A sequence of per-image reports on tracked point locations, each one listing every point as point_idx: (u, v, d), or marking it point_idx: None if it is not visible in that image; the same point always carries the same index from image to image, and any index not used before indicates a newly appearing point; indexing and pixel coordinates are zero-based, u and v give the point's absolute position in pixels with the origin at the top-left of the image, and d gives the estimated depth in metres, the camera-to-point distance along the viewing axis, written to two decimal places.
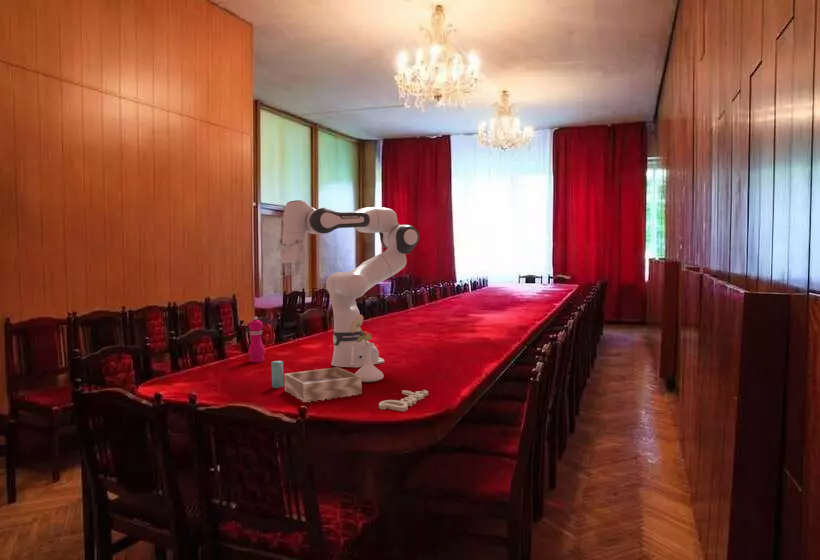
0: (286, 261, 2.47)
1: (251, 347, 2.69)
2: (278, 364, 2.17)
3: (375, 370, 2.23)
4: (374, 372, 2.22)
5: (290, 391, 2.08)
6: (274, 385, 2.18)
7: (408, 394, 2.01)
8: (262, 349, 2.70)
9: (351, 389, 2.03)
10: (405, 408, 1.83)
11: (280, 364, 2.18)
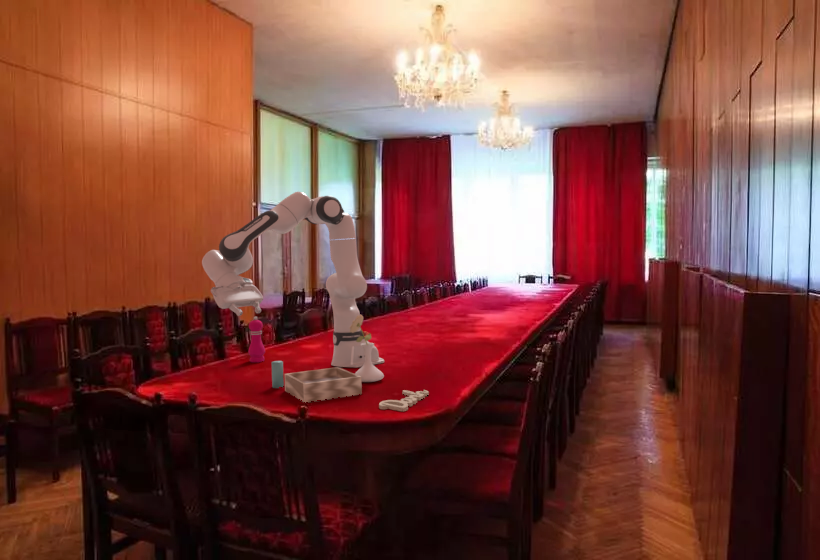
0: None
1: (251, 347, 2.69)
2: (278, 364, 2.17)
3: (375, 370, 2.23)
4: (374, 372, 2.22)
5: (290, 391, 2.08)
6: (274, 385, 2.18)
7: (408, 394, 2.01)
8: (262, 349, 2.70)
9: (351, 389, 2.03)
10: (405, 408, 1.83)
11: (280, 364, 2.18)
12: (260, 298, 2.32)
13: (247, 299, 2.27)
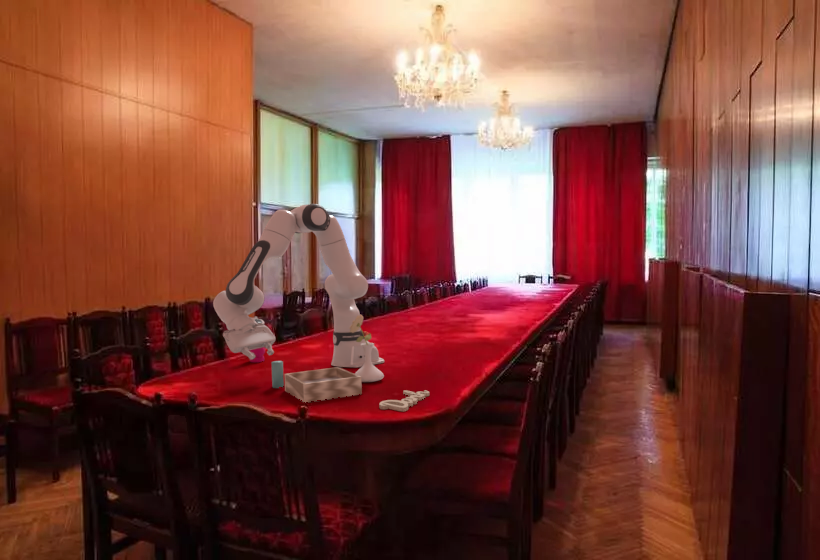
0: None
1: None
2: (278, 364, 2.17)
3: (375, 370, 2.23)
4: (374, 372, 2.22)
5: (290, 391, 2.08)
6: (274, 385, 2.18)
7: (409, 394, 2.01)
8: (262, 349, 2.70)
9: (351, 389, 2.03)
10: (405, 408, 1.83)
11: (280, 364, 2.18)
12: (272, 339, 2.30)
13: (259, 341, 2.25)
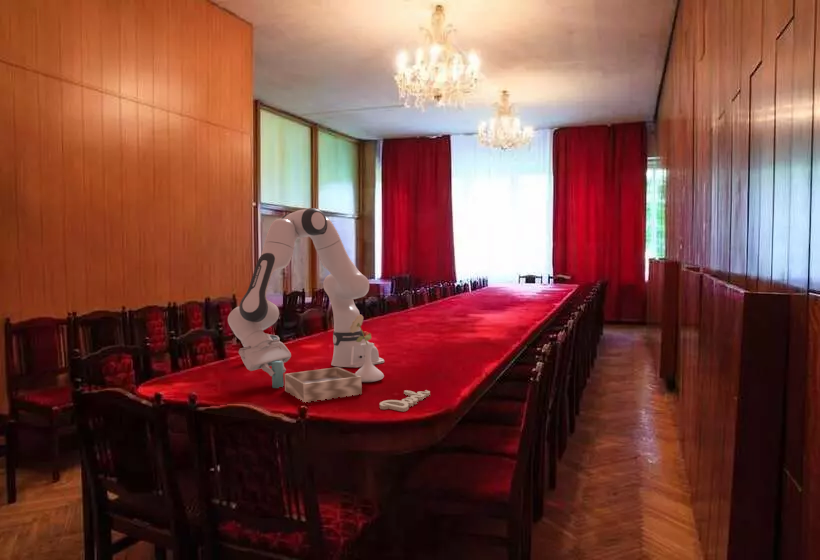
0: None
1: None
2: (278, 364, 2.17)
3: (375, 370, 2.23)
4: (374, 372, 2.22)
5: (290, 391, 2.08)
6: (274, 385, 2.18)
7: (410, 394, 2.01)
8: None
9: (351, 389, 2.03)
10: (405, 408, 1.83)
11: (280, 364, 2.18)
12: (288, 356, 2.27)
13: (275, 358, 2.21)
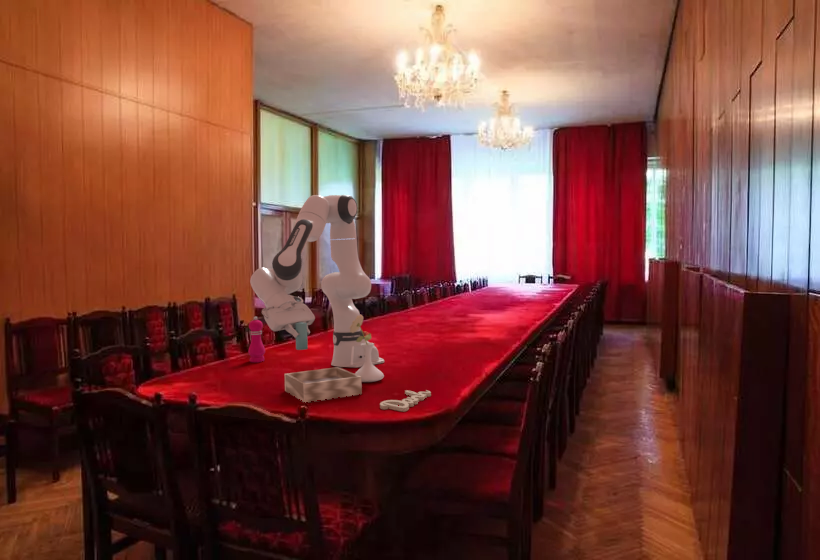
0: None
1: (251, 347, 2.69)
2: (302, 325, 2.10)
3: (375, 370, 2.23)
4: (374, 372, 2.22)
5: (290, 391, 2.08)
6: (298, 347, 2.11)
7: (411, 394, 2.00)
8: (262, 349, 2.70)
9: (351, 389, 2.03)
10: (406, 408, 1.83)
11: (304, 325, 2.11)
12: (311, 318, 2.19)
13: (299, 320, 2.14)
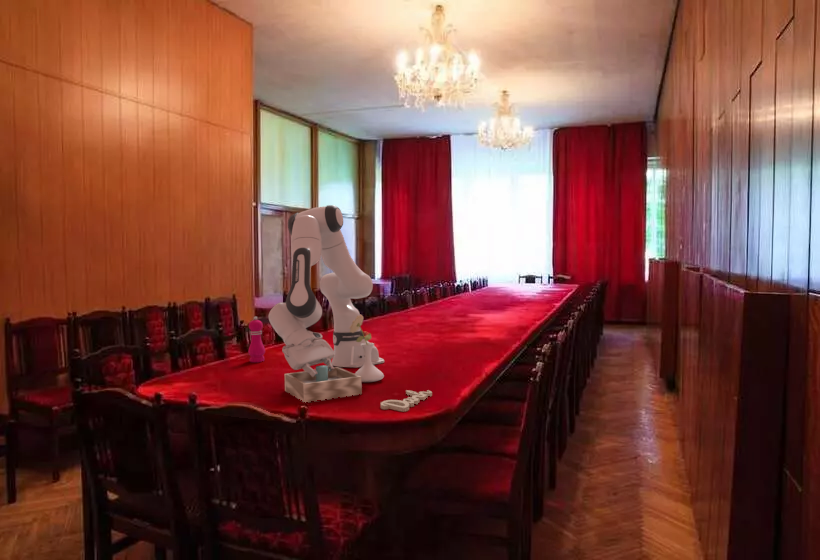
0: None
1: (251, 347, 2.69)
2: (323, 369, 2.07)
3: (375, 370, 2.23)
4: (374, 372, 2.22)
5: (290, 391, 2.08)
6: None
7: (412, 394, 2.00)
8: (262, 349, 2.70)
9: (351, 389, 2.03)
10: (406, 408, 1.83)
11: (325, 369, 2.07)
12: (331, 354, 2.16)
13: (319, 357, 2.10)
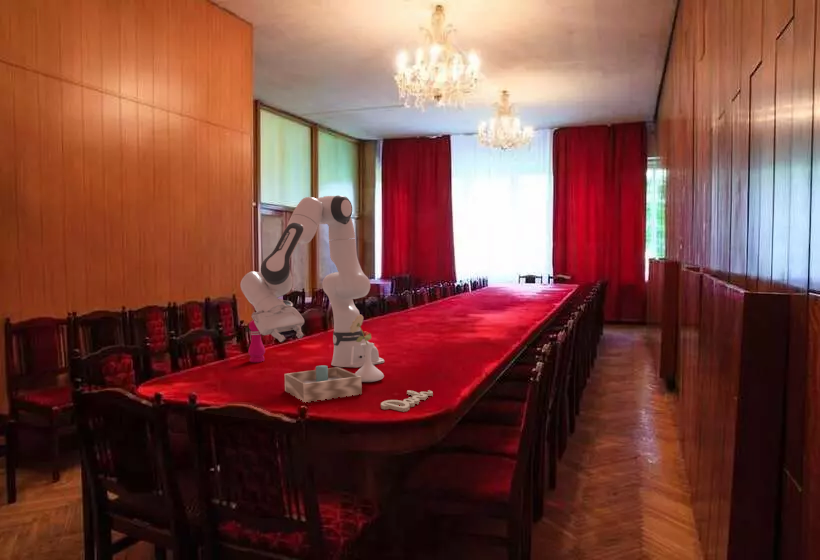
0: None
1: (251, 347, 2.69)
2: (323, 369, 2.07)
3: (375, 370, 2.23)
4: (374, 372, 2.22)
5: (290, 391, 2.08)
6: None
7: (412, 394, 2.00)
8: (262, 349, 2.70)
9: (351, 389, 2.03)
10: (406, 408, 1.83)
11: (325, 369, 2.07)
12: (301, 322, 2.22)
13: (289, 324, 2.17)
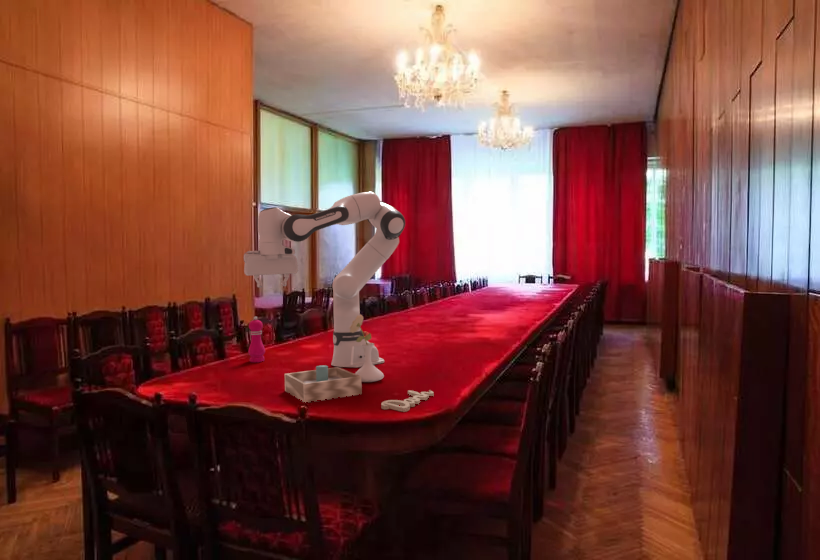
0: None
1: (251, 347, 2.69)
2: (323, 369, 2.07)
3: (375, 370, 2.23)
4: (374, 372, 2.22)
5: (290, 391, 2.08)
6: None
7: (413, 394, 2.00)
8: (262, 349, 2.70)
9: (351, 389, 2.03)
10: (406, 408, 1.82)
11: (325, 369, 2.07)
12: (292, 272, 2.36)
13: (276, 273, 2.33)
